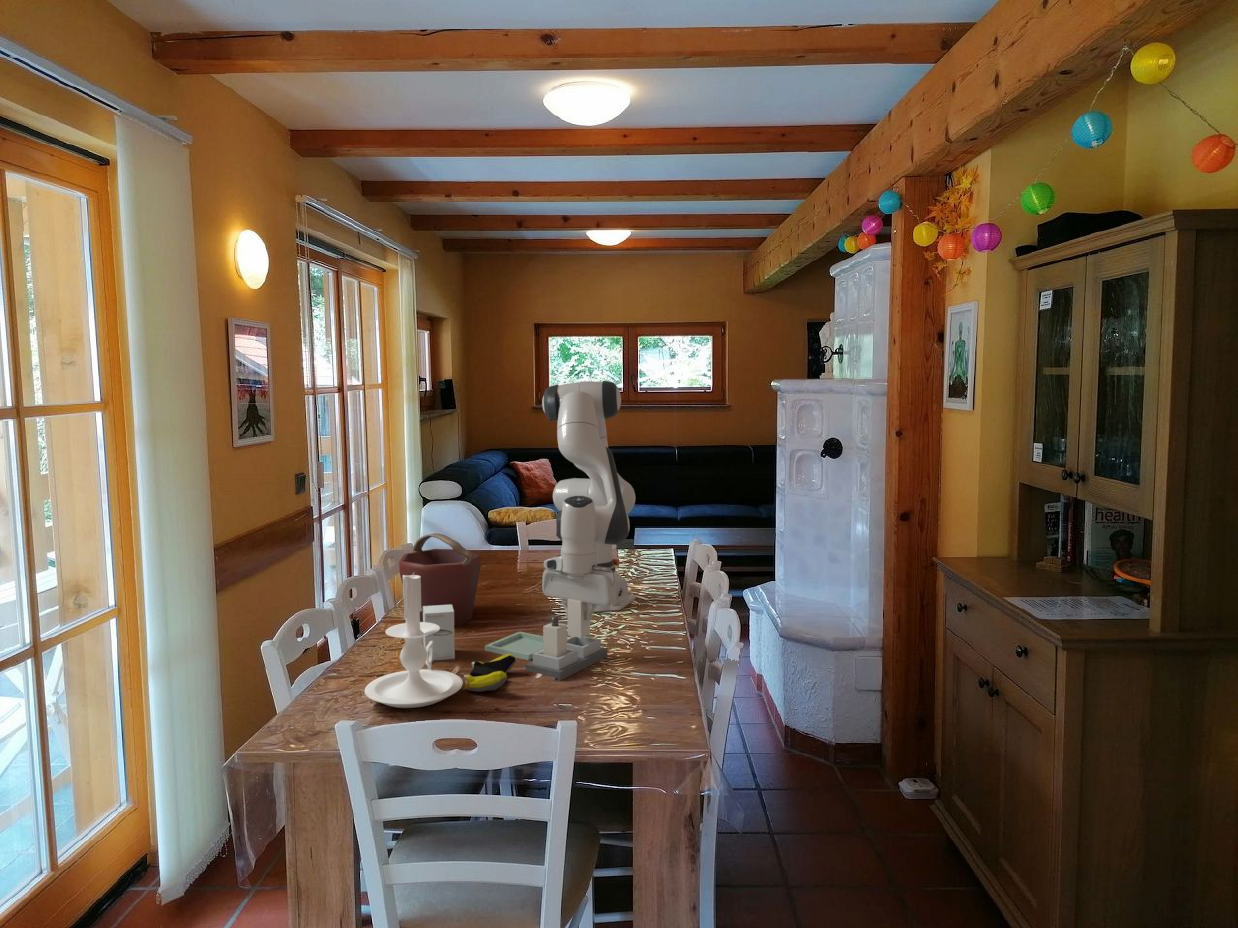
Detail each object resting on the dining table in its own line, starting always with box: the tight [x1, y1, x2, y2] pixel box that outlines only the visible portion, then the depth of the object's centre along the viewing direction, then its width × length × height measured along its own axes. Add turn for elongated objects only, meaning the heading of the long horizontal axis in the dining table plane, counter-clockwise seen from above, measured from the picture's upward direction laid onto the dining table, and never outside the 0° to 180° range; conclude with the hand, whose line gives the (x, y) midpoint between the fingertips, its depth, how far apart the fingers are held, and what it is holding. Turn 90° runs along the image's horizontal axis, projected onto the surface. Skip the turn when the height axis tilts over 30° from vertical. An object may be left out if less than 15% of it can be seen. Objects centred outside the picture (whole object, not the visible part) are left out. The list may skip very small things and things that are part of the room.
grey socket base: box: [525, 615, 608, 682], centre depth 203 cm, size 20×10×13 cm, turn 148°
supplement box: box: [422, 604, 456, 663], centre depth 208 cm, size 7×7×13 cm
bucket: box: [398, 532, 482, 627], centre depth 239 cm, size 24×22×25 cm
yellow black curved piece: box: [463, 654, 517, 693], centre depth 190 cm, size 15×6×10 cm
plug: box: [567, 599, 591, 638], centre depth 206 cm, size 4×4×11 cm
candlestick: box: [364, 573, 464, 709], centre depth 182 cm, size 21×25×28 cm
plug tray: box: [484, 631, 543, 661], centre depth 214 cm, size 14×14×2 cm
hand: (579, 618), depth 207 cm, fingers closed on plug, 4 cm apart
